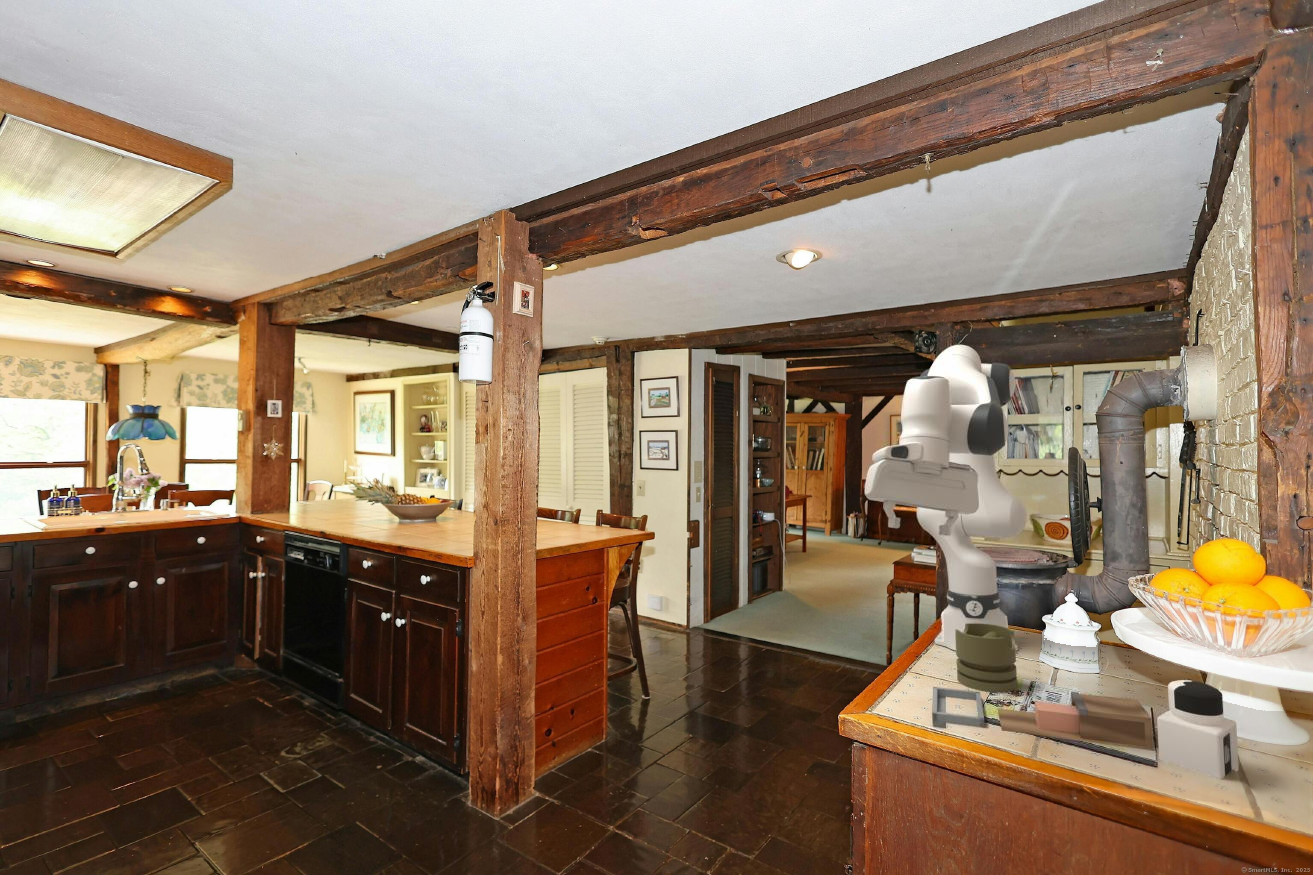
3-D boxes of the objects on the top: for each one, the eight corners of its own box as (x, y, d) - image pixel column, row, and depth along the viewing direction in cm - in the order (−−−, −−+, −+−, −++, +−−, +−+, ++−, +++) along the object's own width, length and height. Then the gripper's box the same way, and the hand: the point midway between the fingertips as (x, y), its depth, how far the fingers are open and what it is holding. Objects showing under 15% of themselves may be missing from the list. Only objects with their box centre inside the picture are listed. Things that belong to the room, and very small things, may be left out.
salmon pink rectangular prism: (1035, 718, 116) (1034, 701, 116) (1100, 726, 112) (1100, 708, 112) (1038, 727, 112) (1037, 709, 112) (1106, 736, 108) (1105, 717, 108)
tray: (933, 698, 129) (933, 686, 129) (980, 703, 125) (980, 691, 126) (932, 725, 117) (932, 712, 117) (984, 732, 113) (984, 719, 113)
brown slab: (997, 713, 121) (996, 681, 121) (1137, 730, 112) (1136, 696, 112) (1002, 735, 112) (1000, 701, 112) (1155, 756, 103) (1153, 719, 103)
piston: (946, 631, 134) (966, 620, 142) (949, 687, 134) (969, 673, 142) (1004, 641, 126) (1022, 629, 134) (1007, 701, 126) (1024, 685, 134)
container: (1239, 770, 98) (1235, 686, 98) (1221, 786, 94) (1216, 698, 94) (1178, 751, 104) (1174, 672, 104) (1158, 765, 100) (1154, 682, 100)
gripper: (969, 469, 121) (966, 541, 118) (864, 452, 121) (858, 524, 118) (987, 463, 115) (984, 539, 112) (877, 446, 115) (871, 521, 112)
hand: (919, 531), depth 115 cm, fingers open, 8 cm apart
